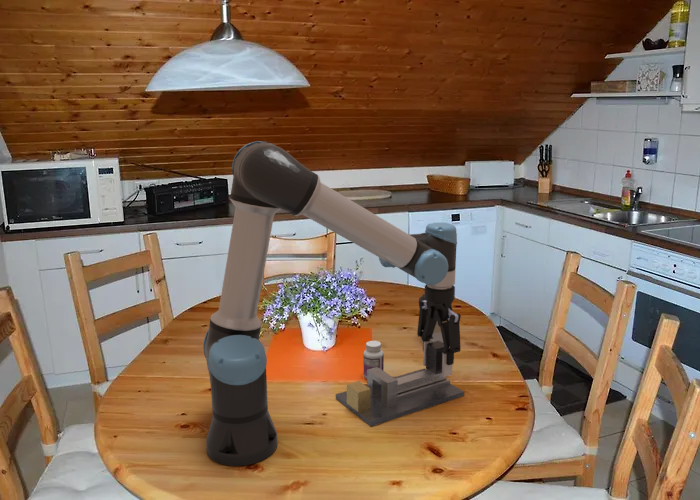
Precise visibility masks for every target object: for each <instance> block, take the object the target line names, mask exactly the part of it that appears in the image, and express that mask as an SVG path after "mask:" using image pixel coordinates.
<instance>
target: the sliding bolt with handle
mask: <svg viewBox="0 0 700 500" xmlns="http://www.w3.org/2000/svg"><path fill="white" fill-rule="evenodd" d="M444 351H445V348H444V343H443V342H441V341H435V342H431V343H428V344H427V346H426V366H425V369H426V370H424V371H421V372H417V373H414V374H410V375H407V376H404V377H400V378H397V380H398V395H400V394H403V393H406V392H409V391H413V390H416V389H419V388H422V387H426V386H429V385H432V384H435V383H439V382H442V381H445V380H447V376H446V377H443V376H442V357H443V352H444Z"/></svg>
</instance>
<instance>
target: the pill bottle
mask: <svg viewBox="0 0 700 500" xmlns="http://www.w3.org/2000/svg"><path fill="white" fill-rule="evenodd" d="M384 357H385V355H384V350H382V344H381V342H380V341H378V340H370V341H367V342H366V343H365V350H364V351H363V377H364V379H366V380H367V370H368V369H371V368H375V367H378V368H380V369H381V370H383V371H384V359H385V358H384ZM384 372H385V371H384Z"/></svg>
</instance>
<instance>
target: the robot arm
mask: <svg viewBox="0 0 700 500" xmlns="http://www.w3.org/2000/svg"><path fill="white" fill-rule="evenodd" d="M231 170H232V171H231V173H232V175H233V176H232V182H231V183H232V184H231V189H230V190H231V191H230V197H229V200H230V201H231V203H232V204H233V206H234V208H235V209H234V216H233V220H232V221H233V222H232V228H231V233H230V240H229V246H228V251H227V258H226V264H225V270H224V276H223V281H222V287H221V294H220V300H219V307H218V310H217V311H215V312H214V313H212V314H211V316H210V319H209V326H208V330H207V331H206V334H205V335H204V339H203V345H202V348H203V355H204V358H205V361H206V366H207V371H208V376H209V377H208V378H209V383H210V394H211V396H210V397H211V409H212V418H211V421H210V425H209V429H208V431H207V432H208V433H207V435H206V439H205V441H206V442H205V444H206V445H205V447H206V454H207V456H208V458H210V460H212V461H213V462H215V463H217V464H220V465H225V466H229V467H230V466H231V467H238V466H239V467H240V466H249V465H253V464H256V463H259V462H261V461H264V460H265V459H267V458H269V457H270V456H272V455H273V453H274V452H276V450H277V447H278V443H279V442H278V432H277V429H276V427H275V425H274V422H273V420H272V416H271V415H270V413H269V404H268V402H269V401H268V382H267V380H268V379H267V361H268V360H267V359H268V358H267V353H266V350H265V347H264V344H263V342H261V341H260V335H261V330H262V329H261V328H262V325H263V324H262V321H261V320H260V319H259V317H258V316H257V314H258V308H259V302H260V296H261V292H262V291H261V290H262V285H263V279H264V274H265V270H266V269H265V267H266V264H267V257H268V251H269V246H270V241H271V240H270V239H271V236H272V235H271V234H272V229H273V223H274V219H275V218H274V217H275V214H276V213H278V212H280V211H281V210H282V211H286V212H287V213H289V214H291V215H292V216H294V217H299V216H305V217H306V218H308V219H310V220H312V221H313V222H315V223H317V224H318V225H320V226H322V227H324V228H326V229H327V230H329V231H332V232H333V233H335V234H336V235H338V236H341V237H342V238H344V239H346V240H347V241H349V242H351V243H353V244H355V245H356V246H358V247H360V248H361V249H364V250H365V251H367V252H369V253H370V254H373V255H374V256H376V257H378V260H379V262H380V264H381V266H383V268H392V269H395V268H398V269H399V270H401V271H403V272H404V273H406V274H408V275H410V276H412V277H413V278H415V279H416V280H417V281H419V282H420V283H423V284H425V285H424V298H425V300H424V301H420V302H419V301H418V307H419V309H420V311H419V310H418V312H419V314H418V322H417V331H416V332H417V333H416V334H417V337H420V340H421V339H422V341H423V343H422V352H423V353H422V355H423V357H422V359H423V360H422V362H423V363H422V366H424V367H426V346H427V344H428V343H431V342H434V341H433V340H430V339H433V337H432V335H433V332H434V329H435V326H436V322H437V321H438V326H439V327H440V328H441V333H442V338H443V343H444V348H445V351H444V352H443V357H442V376H443V377H446V378H447V377H448V376H452V375H453V365H454V362H455V354H456V353H459V352H461V330H460V328H461V327H460V325H461V324H460V321H461V318H462V316H461V314H460V313H456V312H454V311H453V307H452V304H453V302H454V301H455V298H456V297H455V295H456V294H455V293H456V292H455V291H456V287H455V284H456V266H457V265H456V263H457V261H456V260H457V247H458V239H457V238H458V237H457V235H458V233H457V228H456V226H455V225H454V224H452V223H448V222H433V223H428V224H427V225H426V226H425V231H424V232H423V233H412V234H410V233H407V232H406V231H403V230H402V229H400V228H398V227H397V226H395V225H393V224H392V223H390V222H388V221H387V220H385V219H384V218H381V217H380V216H378V215H377V214H375V213H373V212H371V211H370V210H368V209H367V208H365V207H363V206H362V205H360V204H359V203H356V202H355V201H353V200H352V199H349V198H348V197H346V196H344V195H343V194H341V193H339V192H338V191H337V190H335V189H332V188H331V187H329V186H327V185H326V184H324V183H322V182H321V178H320V175H318V173H317V174H316V173H315V172H314V171H312V170H310V169H309V168H307V167H306V166H305V165H303V163H301V162H299V160H297V159H296V158H295V157H293V156H292V155H291V154H290V153H289V152H287V150H284V149H283V148H282V147H280V146H277V145H275V144H274V143H270V142H267V141H259V140H257V141H253V142H250V143H246V144H245V145H244V146H242V147H241V148H240V149H239V150H238V151H237V153H236V154H235V155H234V158H233V161H232V165H231ZM444 321H447V322H444ZM442 322H444V323H442ZM422 330H423V331H422ZM422 341H421V342H422Z"/></svg>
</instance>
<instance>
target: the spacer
mask: <svg viewBox="0 0 700 500" xmlns="http://www.w3.org/2000/svg"><path fill="white" fill-rule="evenodd" d="M366 385H367V384H364V383H363V382H361V381H360V380H358V381H354V382H351V383H347V384H346V391H347V404H348V405H350V406H351V407H352V408H353V409H355V410H356V411H357V412H360V411H363V410H366V409H369V408H370V388H368V387H367V386H366Z"/></svg>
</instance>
